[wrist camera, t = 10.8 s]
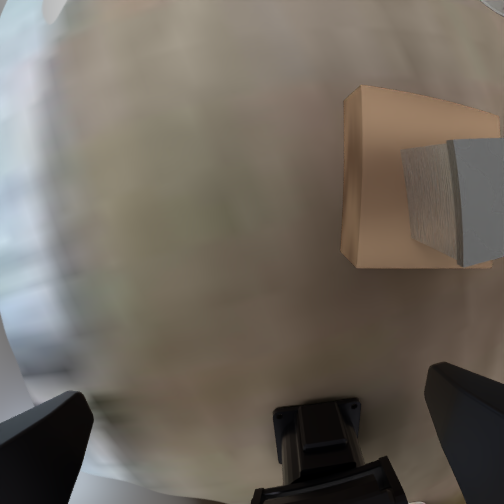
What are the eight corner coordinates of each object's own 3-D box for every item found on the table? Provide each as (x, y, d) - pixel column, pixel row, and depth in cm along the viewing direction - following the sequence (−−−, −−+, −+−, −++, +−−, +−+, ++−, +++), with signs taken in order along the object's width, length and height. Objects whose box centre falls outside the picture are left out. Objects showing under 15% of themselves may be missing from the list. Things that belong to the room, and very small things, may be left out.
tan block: (458, 252, 19) (491, 268, 15) (338, 249, 19) (356, 268, 15) (464, 122, 17) (499, 116, 13) (342, 102, 17) (361, 84, 13)
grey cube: (477, 226, 14) (537, 246, 9) (409, 239, 15) (463, 267, 10) (468, 142, 13) (530, 138, 8) (397, 148, 14) (452, 139, 9)
